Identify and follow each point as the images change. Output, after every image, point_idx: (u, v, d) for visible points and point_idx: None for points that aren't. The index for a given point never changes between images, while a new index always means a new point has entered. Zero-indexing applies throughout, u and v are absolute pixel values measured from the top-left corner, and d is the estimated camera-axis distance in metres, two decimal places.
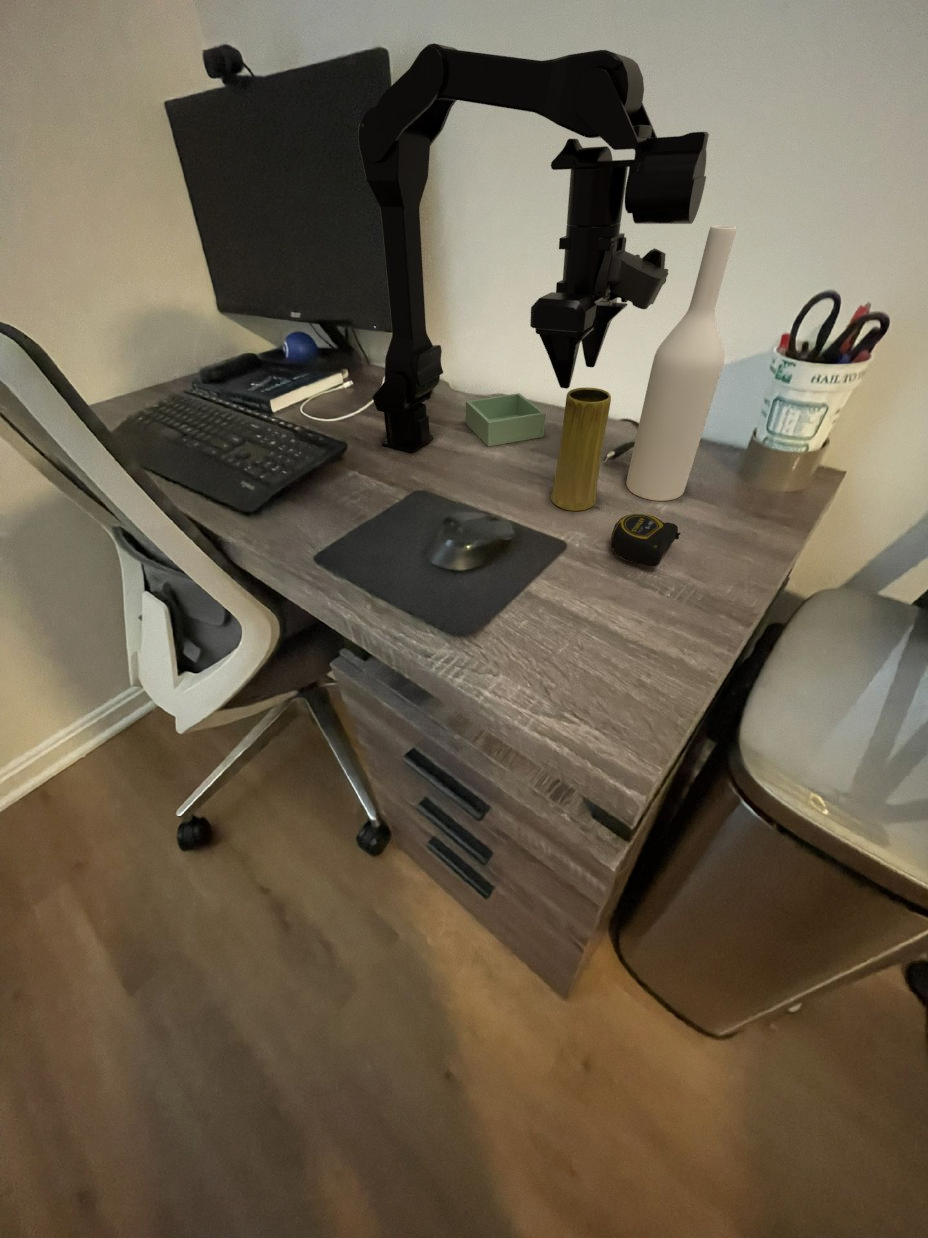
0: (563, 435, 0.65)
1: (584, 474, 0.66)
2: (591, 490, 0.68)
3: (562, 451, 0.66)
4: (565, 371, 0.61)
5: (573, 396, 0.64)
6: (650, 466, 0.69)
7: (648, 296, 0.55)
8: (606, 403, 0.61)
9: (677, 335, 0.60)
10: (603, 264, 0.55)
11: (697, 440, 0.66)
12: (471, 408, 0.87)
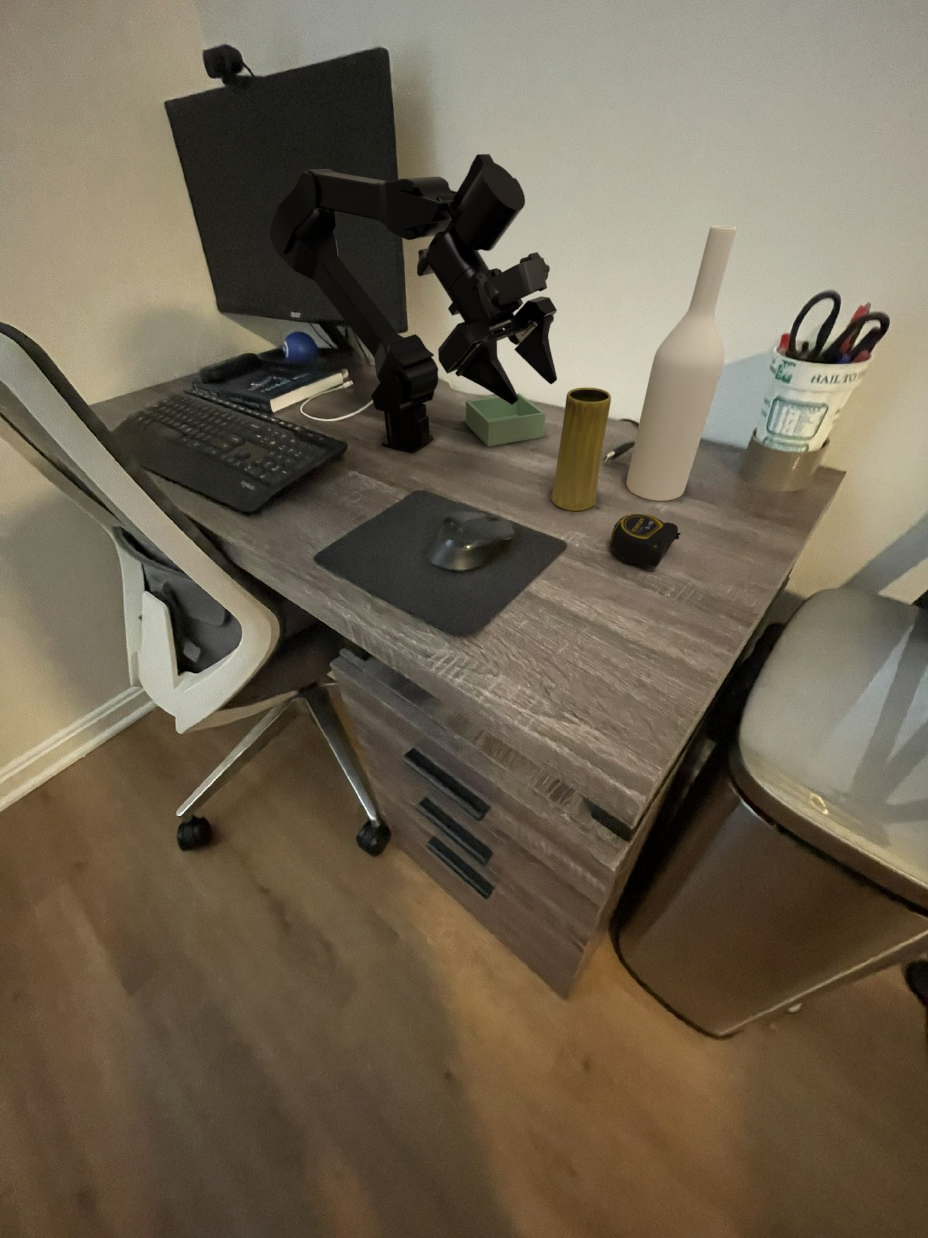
0: (563, 435, 0.65)
1: (584, 474, 0.66)
2: (591, 490, 0.68)
3: (562, 451, 0.66)
4: (503, 387, 0.63)
5: (573, 396, 0.64)
6: (650, 466, 0.69)
7: (523, 281, 0.57)
8: (606, 403, 0.61)
9: (677, 335, 0.60)
10: (480, 293, 0.61)
11: (697, 440, 0.66)
12: (471, 408, 0.87)
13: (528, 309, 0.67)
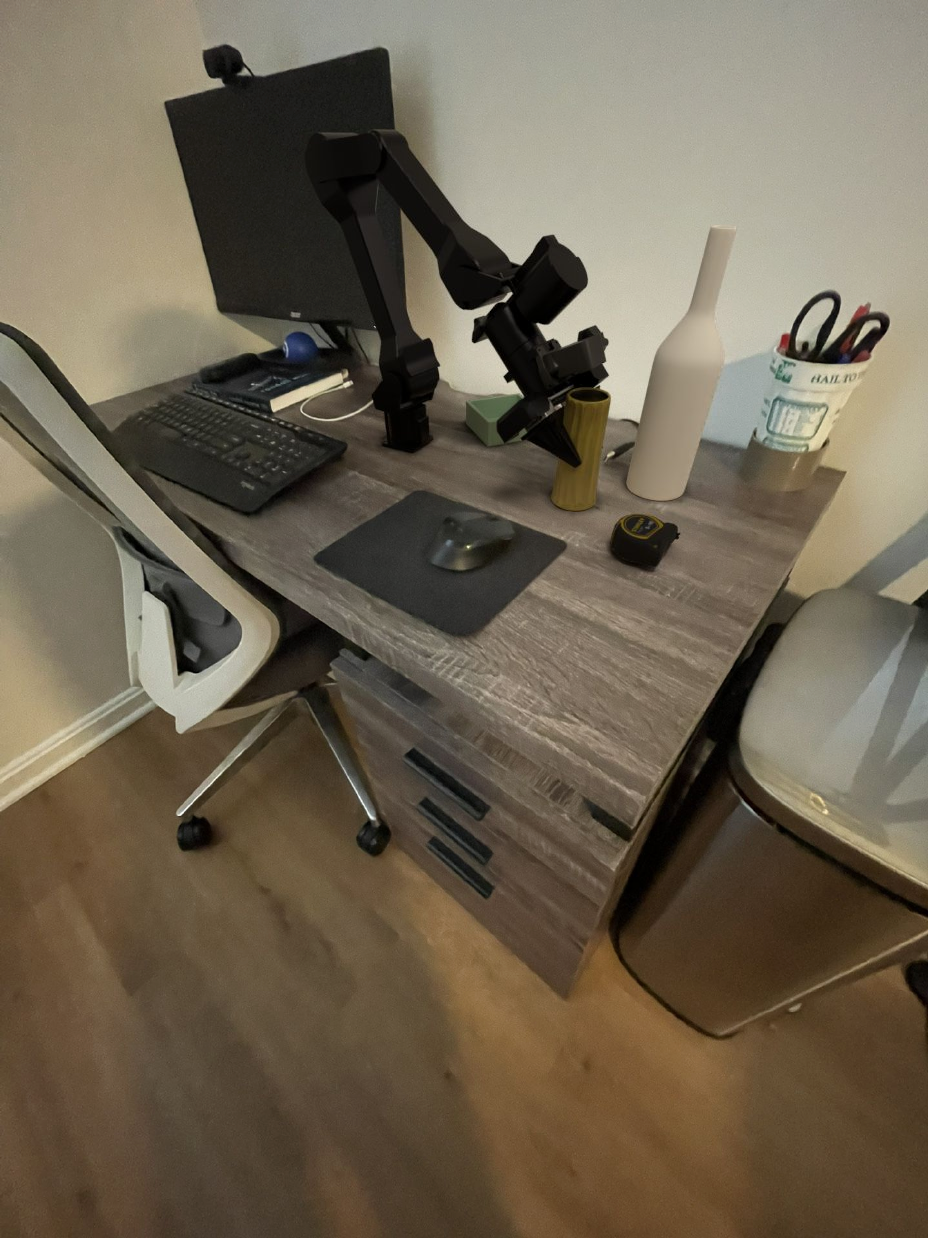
0: None
1: (584, 474, 0.66)
2: (591, 490, 0.68)
3: None
4: (567, 452, 0.64)
5: (573, 396, 0.64)
6: (650, 466, 0.69)
7: (586, 358, 0.58)
8: (606, 403, 0.61)
9: (677, 335, 0.60)
10: (539, 366, 0.61)
11: (697, 440, 0.66)
12: (471, 408, 0.87)
13: (581, 375, 0.67)
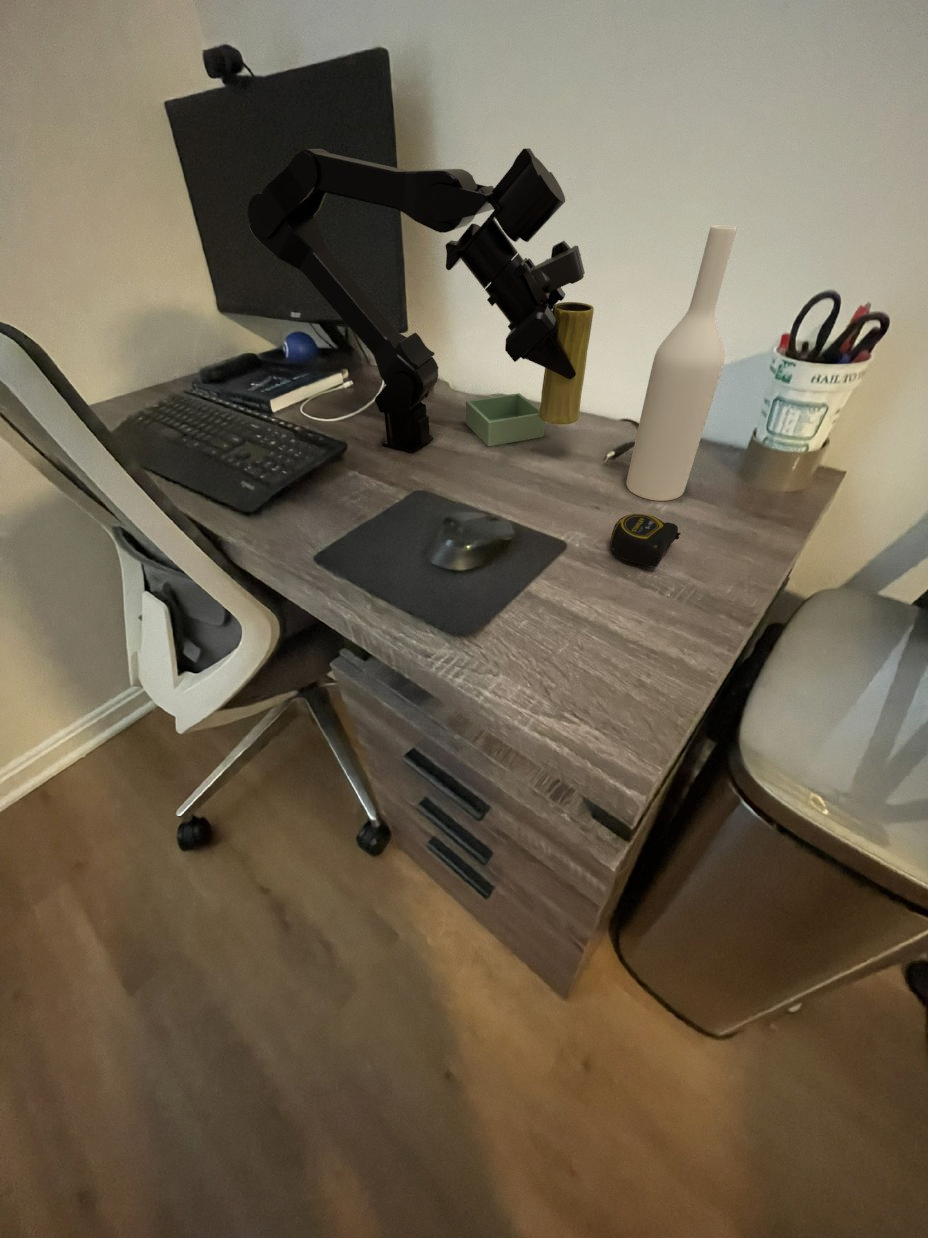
0: None
1: (576, 385, 0.71)
2: (579, 401, 0.74)
3: None
4: (564, 364, 0.68)
5: None
6: (650, 466, 0.69)
7: (577, 267, 0.62)
8: (592, 312, 0.66)
9: (677, 335, 0.60)
10: (529, 282, 0.64)
11: (697, 440, 0.66)
12: (471, 408, 0.87)
13: None
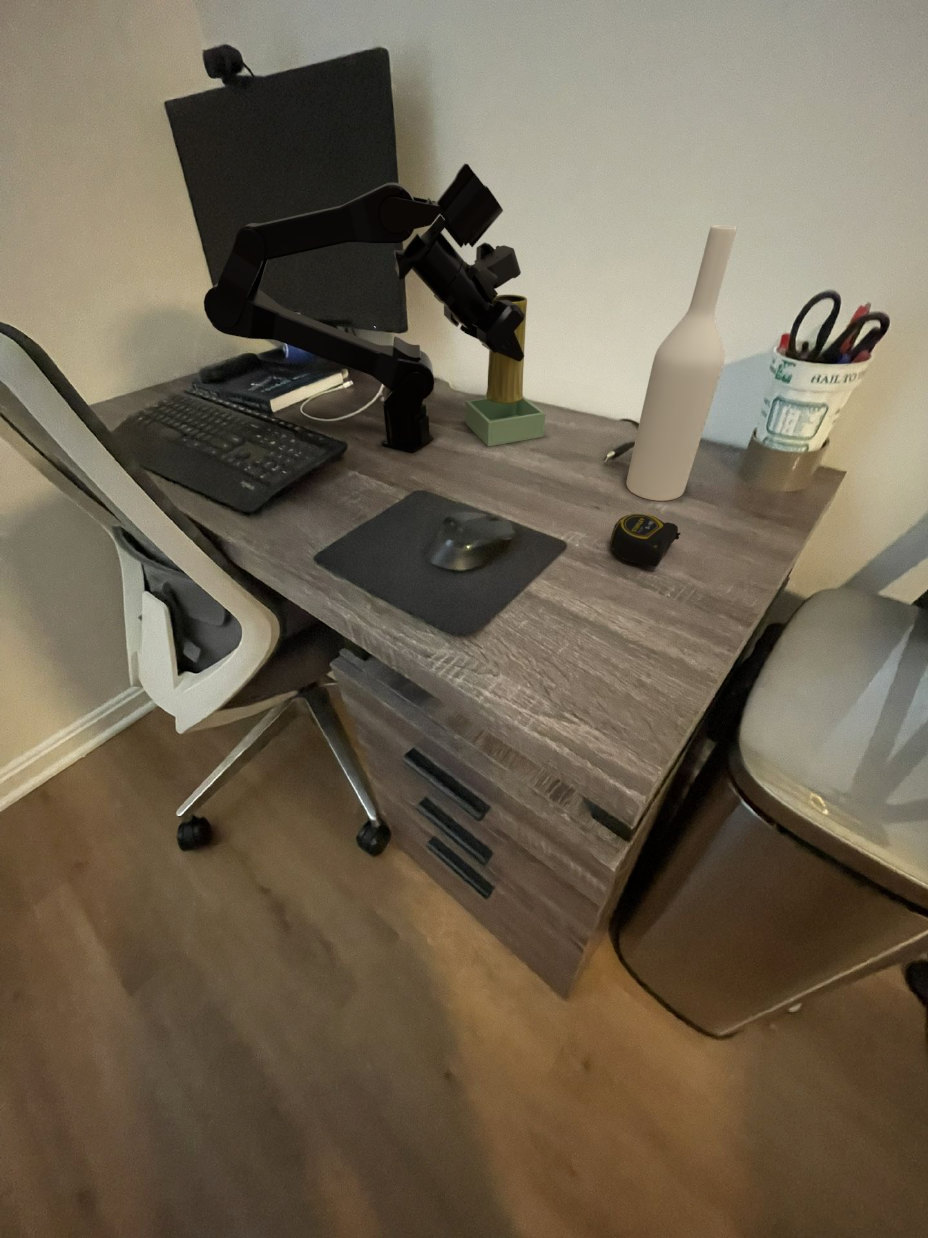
0: None
1: (521, 366, 0.82)
2: None
3: None
4: (517, 349, 0.78)
5: None
6: (650, 466, 0.69)
7: (517, 264, 0.72)
8: None
9: (677, 335, 0.60)
10: (481, 281, 0.71)
11: (697, 440, 0.66)
12: (471, 408, 0.87)
13: None
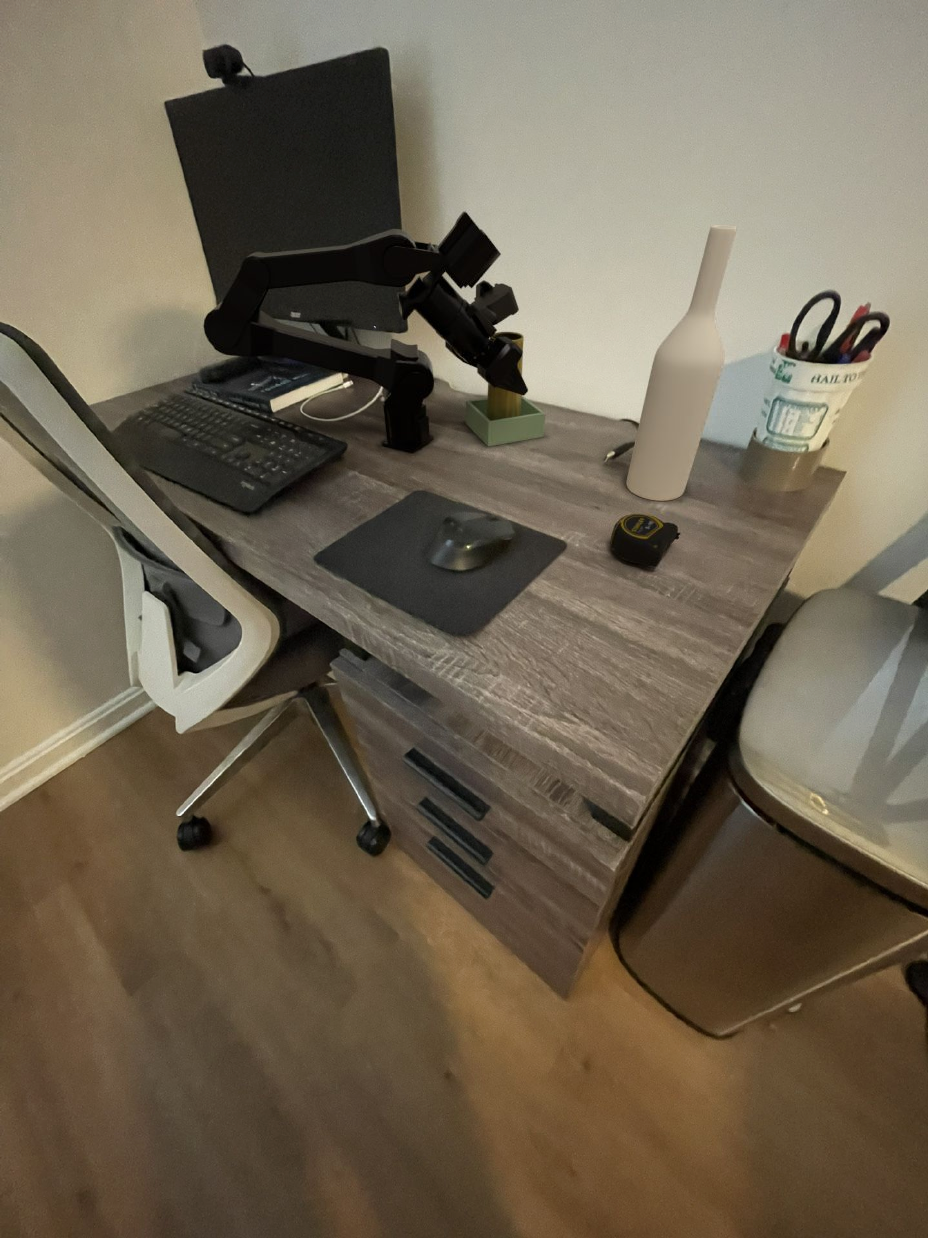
0: None
1: (519, 398, 0.85)
2: None
3: None
4: (521, 384, 0.80)
5: None
6: (650, 466, 0.69)
7: (515, 301, 0.75)
8: None
9: (677, 335, 0.60)
10: (481, 319, 0.74)
11: (697, 440, 0.66)
12: (471, 408, 0.87)
13: None
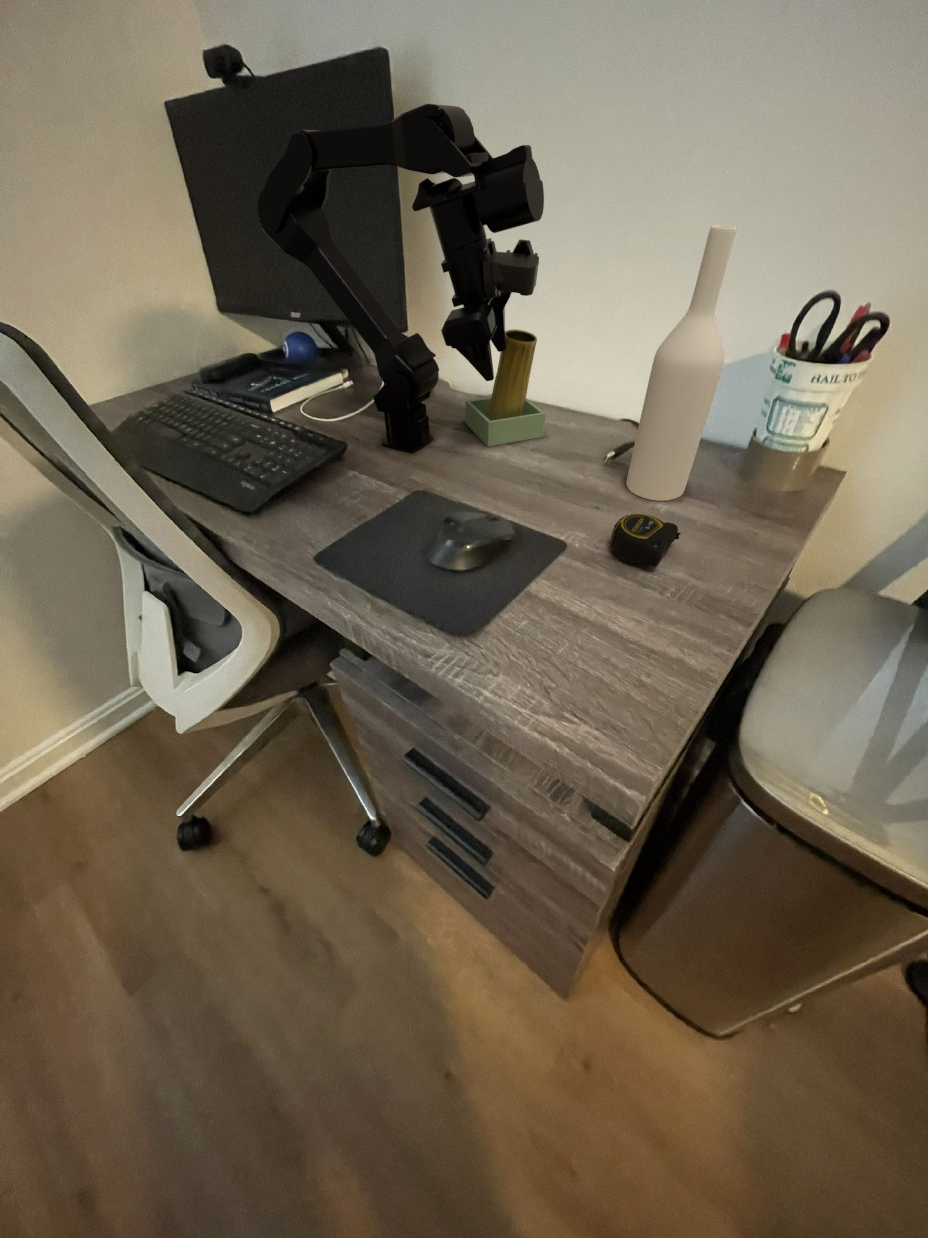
0: (509, 373, 0.80)
1: (523, 399, 0.85)
2: None
3: (509, 386, 0.82)
4: (486, 367, 0.71)
5: None
6: (650, 466, 0.69)
7: (530, 283, 0.65)
8: None
9: (677, 335, 0.60)
10: (485, 272, 0.64)
11: (697, 440, 0.66)
12: (471, 408, 0.87)
13: None
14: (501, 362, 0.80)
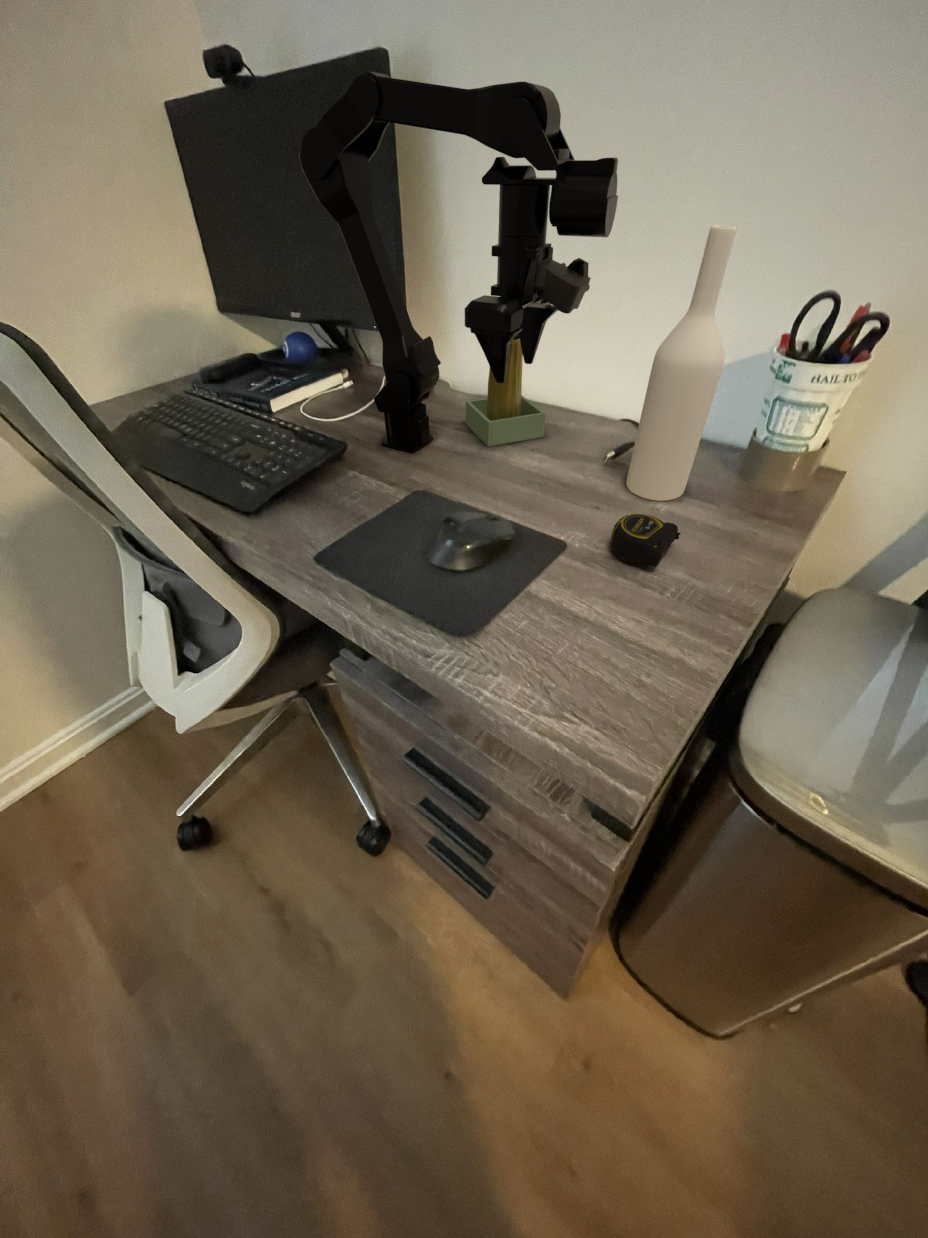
0: None
1: (519, 398, 0.85)
2: None
3: (502, 387, 0.82)
4: (499, 367, 0.67)
5: None
6: (650, 466, 0.69)
7: (570, 302, 0.62)
8: None
9: (677, 335, 0.60)
10: (530, 271, 0.61)
11: (697, 440, 0.66)
12: (471, 408, 0.87)
13: None
14: None
